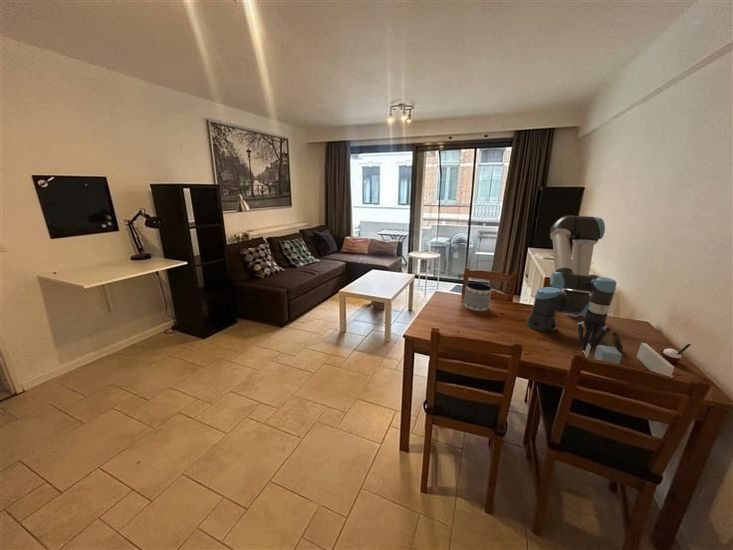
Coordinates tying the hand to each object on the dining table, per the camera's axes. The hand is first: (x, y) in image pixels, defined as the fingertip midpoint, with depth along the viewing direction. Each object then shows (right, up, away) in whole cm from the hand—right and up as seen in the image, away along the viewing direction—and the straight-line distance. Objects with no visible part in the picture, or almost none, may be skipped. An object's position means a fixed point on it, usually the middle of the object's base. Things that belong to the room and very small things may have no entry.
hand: (584, 356), depth 144 cm
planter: (-31, +18, +58) cm, 68 cm away
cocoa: (+41, -3, +1) cm, 42 cm away
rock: (+23, +2, +13) cm, 27 cm away
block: (+9, -2, -2) cm, 9 cm away
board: (+28, -4, -7) cm, 29 cm away
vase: (+28, +14, +51) cm, 60 cm away
